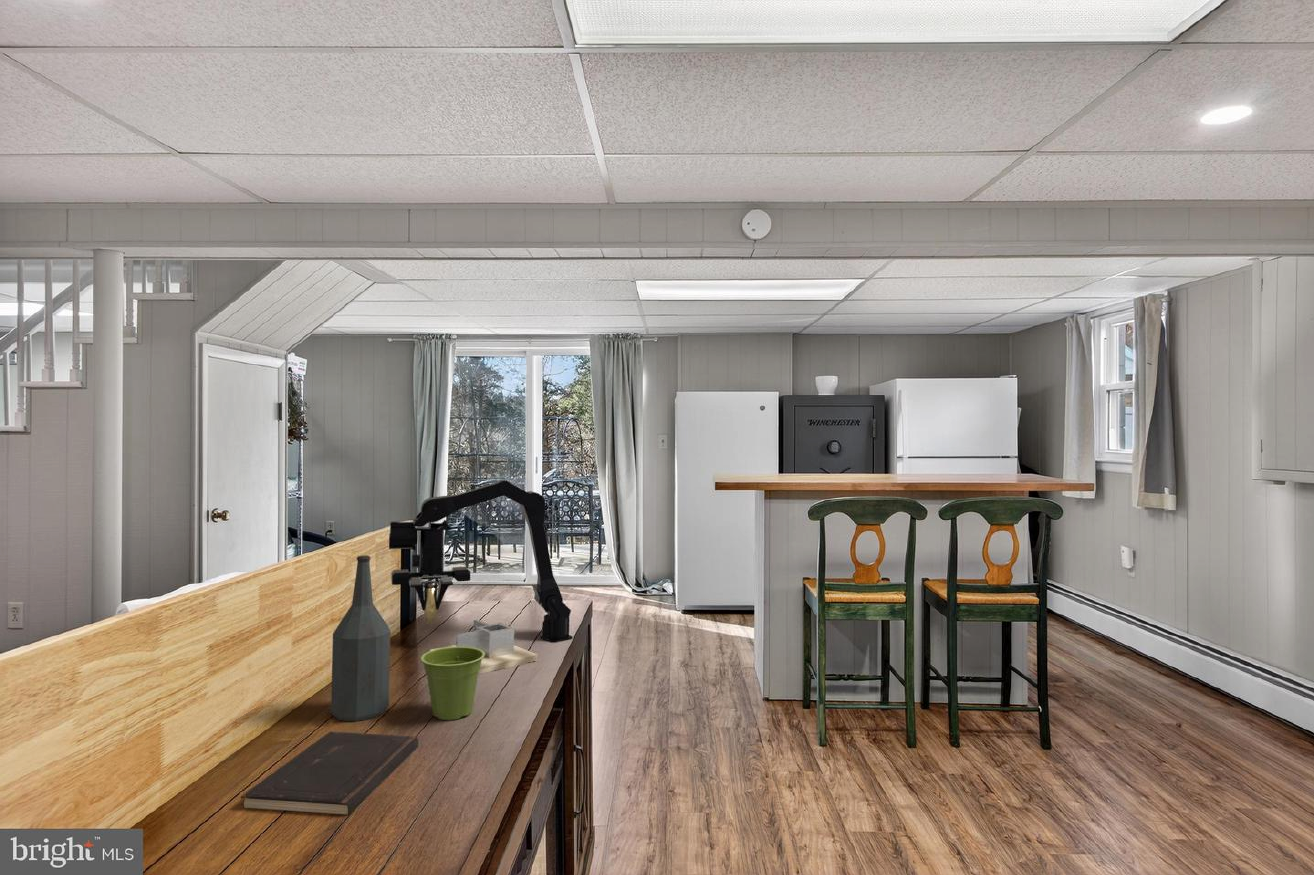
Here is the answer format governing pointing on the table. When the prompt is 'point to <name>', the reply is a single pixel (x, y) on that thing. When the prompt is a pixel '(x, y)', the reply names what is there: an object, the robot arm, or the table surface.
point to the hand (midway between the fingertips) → (430, 609)
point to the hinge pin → (430, 601)
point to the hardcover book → (332, 773)
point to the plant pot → (452, 680)
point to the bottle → (360, 655)
